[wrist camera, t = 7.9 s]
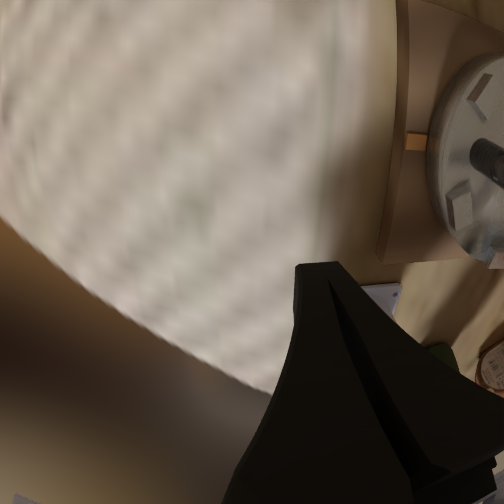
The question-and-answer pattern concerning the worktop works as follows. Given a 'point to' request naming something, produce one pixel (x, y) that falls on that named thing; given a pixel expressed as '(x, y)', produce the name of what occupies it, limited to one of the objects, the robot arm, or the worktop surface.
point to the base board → (424, 125)
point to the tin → (492, 369)
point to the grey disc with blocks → (470, 159)
